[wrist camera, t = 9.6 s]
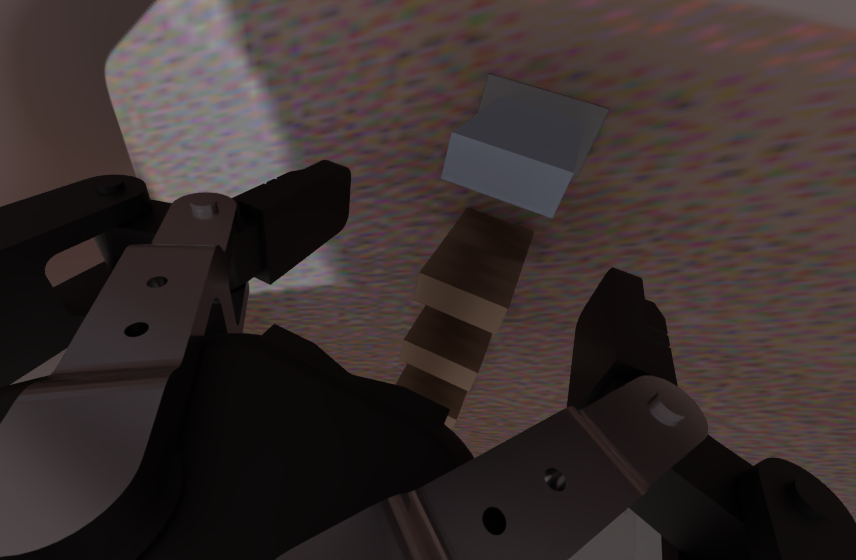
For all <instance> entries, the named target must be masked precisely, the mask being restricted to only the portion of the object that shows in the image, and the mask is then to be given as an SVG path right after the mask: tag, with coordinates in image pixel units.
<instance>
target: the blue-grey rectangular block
mask: <svg viewBox="0 0 856 560" xmlns="http://www.w3.org/2000/svg"><path fill="white" fill-rule="evenodd" d="M583 126H584V123H583V122H580V121H576V120H573V119H570V118H567V117H564V116H560V115H557V114H554V113H551V112H547V111H544V110H541V109H538V108H534V107H531V106H528V105H525V104H521V103H518V102H515V101H512V100H509V99H505V98H502V97H500V98H498V99H497V100H496V101H494V102H493V103H491V104H490V105H489V106H487V107H486V108H485V109H483V110H482V111H480V112H479V113H478V114H476V115H475V116H474V117H472V118H471V119H469V120H468V121H467V122H465V123H464V124H462V125H461V126H460V127H458V128H457V129H456V130H454V131H453V132H452V133H451V138H450V142H449V146H448V151H447V155H446V159H445V163H444V168H443V172H442V176H441V179H444V180H446V181H449V182H452V183H455V184H458V185H460V186H463V187H466V188H469V189H471V190H474V191H477V192H480V193H483V194H485V195H488V196H491V197H494V198H496V199H499V200H502V201H505V202H508V203H510V204H513V205H516V206H519V207H521V208H524V209H527V210H530V211H533V212H535V213H538V214H541V215H544V216H546V217H549V218H553V216H554V214H555V212H556V210H557V208H558V206H559V203H560V201H561V199H562V197H563V195H564V193H565V191H566V189H567V187H568V184H569V182H570V180H571V178H572V176H573V174H574V170H575V165H576V160H577V155H578V151H579V146H580V141H581V136H582V131H583Z"/></svg>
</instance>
